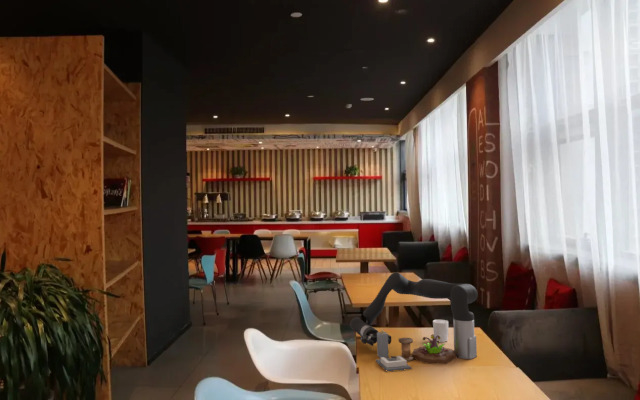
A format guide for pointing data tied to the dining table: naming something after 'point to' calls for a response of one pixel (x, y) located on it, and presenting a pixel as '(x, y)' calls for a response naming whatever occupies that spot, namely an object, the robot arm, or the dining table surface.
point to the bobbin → (405, 348)
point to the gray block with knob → (382, 344)
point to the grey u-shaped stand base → (393, 363)
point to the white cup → (441, 330)
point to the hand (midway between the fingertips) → (381, 342)
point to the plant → (433, 352)
